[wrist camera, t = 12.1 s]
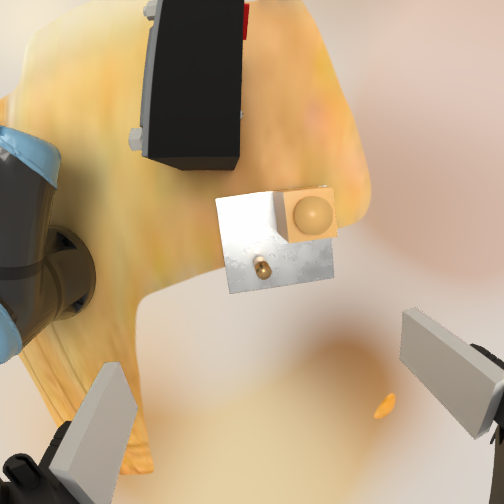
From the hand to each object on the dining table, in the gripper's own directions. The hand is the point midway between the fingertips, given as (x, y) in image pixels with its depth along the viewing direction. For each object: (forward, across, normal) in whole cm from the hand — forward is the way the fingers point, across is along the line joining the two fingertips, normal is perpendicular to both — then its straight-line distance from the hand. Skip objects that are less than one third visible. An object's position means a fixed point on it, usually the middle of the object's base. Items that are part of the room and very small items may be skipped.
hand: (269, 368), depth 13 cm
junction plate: (+33, +6, -1) cm, 34 cm away
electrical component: (+34, -2, +19) cm, 39 cm away
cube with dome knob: (+32, +9, +3) cm, 34 cm away
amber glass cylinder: (+33, +3, -4) cm, 34 cm away
